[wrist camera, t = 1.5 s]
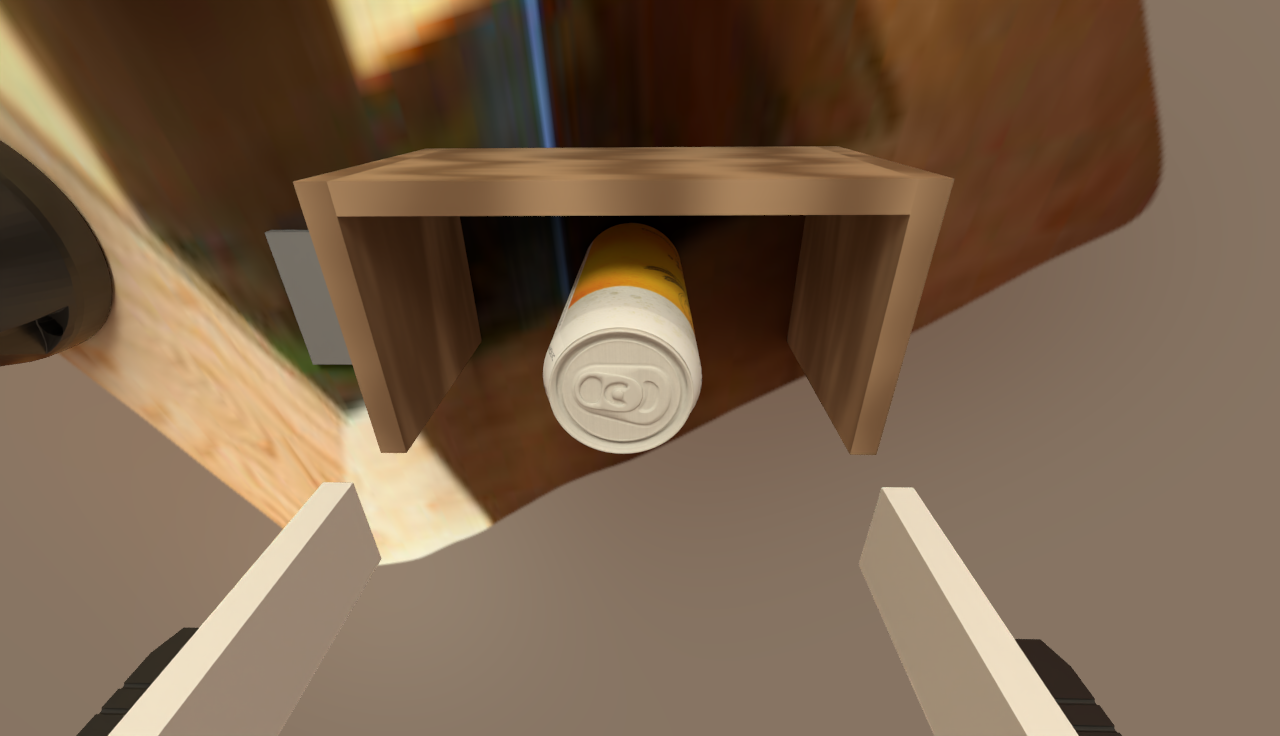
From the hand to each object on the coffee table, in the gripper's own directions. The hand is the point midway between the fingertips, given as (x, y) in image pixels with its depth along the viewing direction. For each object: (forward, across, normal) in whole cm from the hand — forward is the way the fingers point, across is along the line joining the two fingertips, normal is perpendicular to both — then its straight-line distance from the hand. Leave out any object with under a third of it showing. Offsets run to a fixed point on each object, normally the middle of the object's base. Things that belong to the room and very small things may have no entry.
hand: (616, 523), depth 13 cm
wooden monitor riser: (+21, 0, +1) cm, 21 cm away
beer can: (+21, 0, 0) cm, 21 cm away
